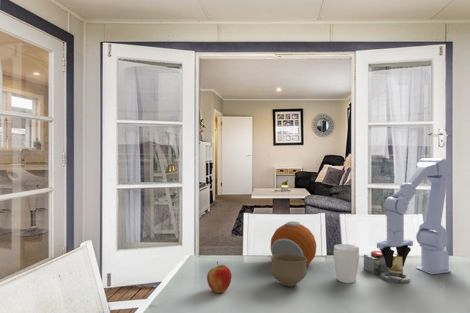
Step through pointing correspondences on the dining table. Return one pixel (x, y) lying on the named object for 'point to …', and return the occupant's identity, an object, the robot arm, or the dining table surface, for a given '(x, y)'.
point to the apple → (219, 278)
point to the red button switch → (381, 267)
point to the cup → (346, 262)
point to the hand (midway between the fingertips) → (394, 266)
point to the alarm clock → (294, 241)
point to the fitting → (396, 264)
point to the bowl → (288, 268)
